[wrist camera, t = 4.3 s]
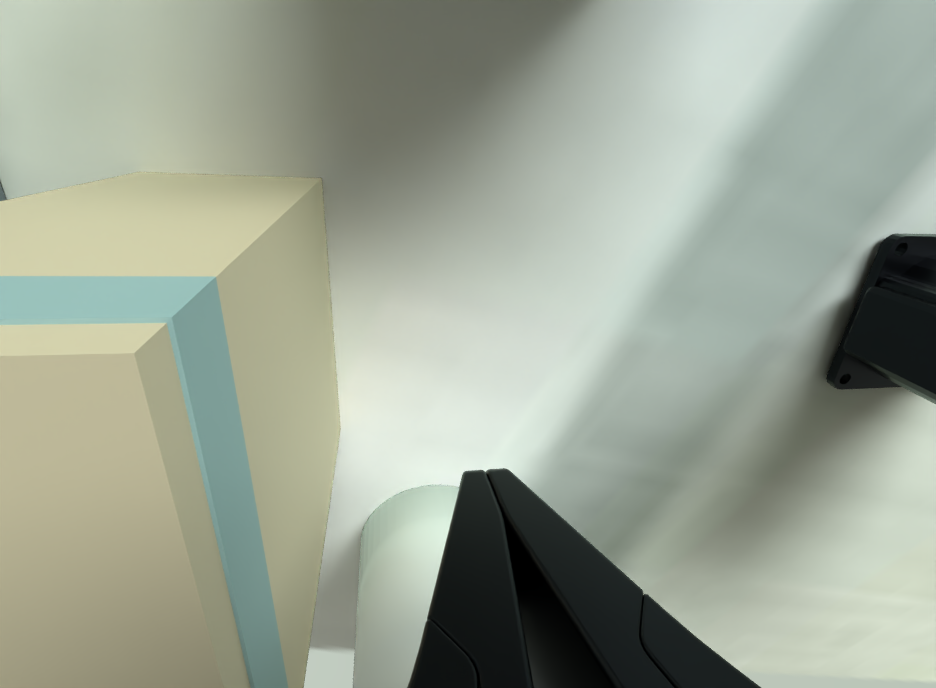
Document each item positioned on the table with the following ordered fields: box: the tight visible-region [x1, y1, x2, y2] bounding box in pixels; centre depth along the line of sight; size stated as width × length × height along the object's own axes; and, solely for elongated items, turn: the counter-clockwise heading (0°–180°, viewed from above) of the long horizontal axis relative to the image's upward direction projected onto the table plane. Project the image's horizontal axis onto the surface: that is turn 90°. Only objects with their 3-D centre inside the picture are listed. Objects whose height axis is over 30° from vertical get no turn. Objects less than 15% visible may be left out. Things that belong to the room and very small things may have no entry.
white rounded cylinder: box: [353, 485, 459, 688], centre depth 18 cm, size 6×6×6 cm
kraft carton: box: [0, 172, 341, 688], centre depth 10 cm, size 5×9×12 cm, turn 178°
